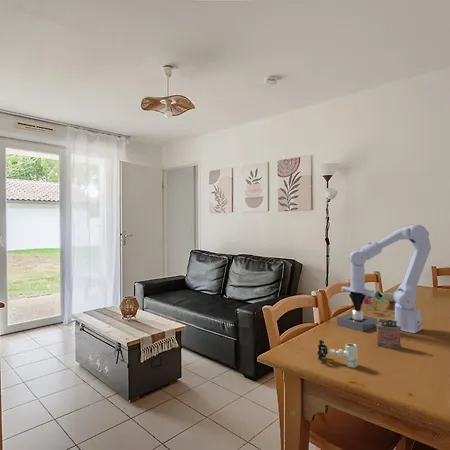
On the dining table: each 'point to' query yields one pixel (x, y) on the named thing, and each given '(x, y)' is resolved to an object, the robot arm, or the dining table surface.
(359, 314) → the bushing
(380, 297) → the flower vase
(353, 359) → the valve
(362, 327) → the block
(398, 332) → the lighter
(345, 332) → the dining table surface
